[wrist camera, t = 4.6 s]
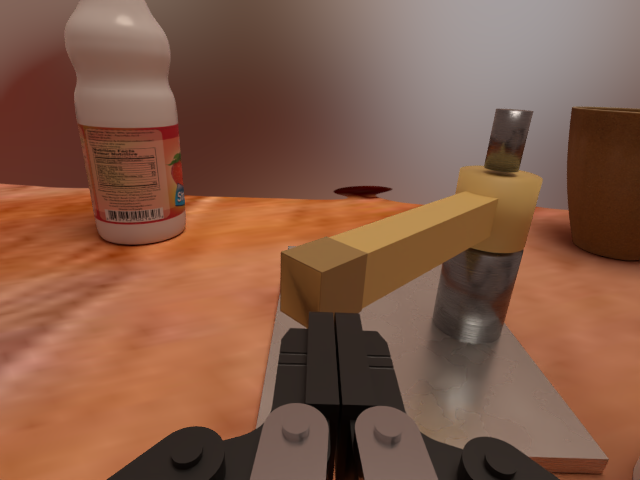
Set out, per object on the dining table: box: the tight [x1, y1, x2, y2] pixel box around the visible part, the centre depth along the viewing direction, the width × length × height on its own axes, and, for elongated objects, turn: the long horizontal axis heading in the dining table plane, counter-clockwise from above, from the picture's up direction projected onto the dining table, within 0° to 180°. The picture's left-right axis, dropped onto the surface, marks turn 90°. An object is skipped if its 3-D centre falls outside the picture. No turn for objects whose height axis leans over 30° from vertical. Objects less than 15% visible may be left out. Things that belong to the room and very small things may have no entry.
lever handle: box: [280, 166, 543, 329], centre depth 20 cm, size 19×5×4 cm, turn 136°
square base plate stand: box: [256, 109, 609, 474], centre depth 27 cm, size 17×24×16 cm
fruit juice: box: [65, 0, 186, 245], centre depth 40 cm, size 9×9×28 cm
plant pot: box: [567, 107, 640, 260], centre depth 44 cm, size 15×15×16 cm
